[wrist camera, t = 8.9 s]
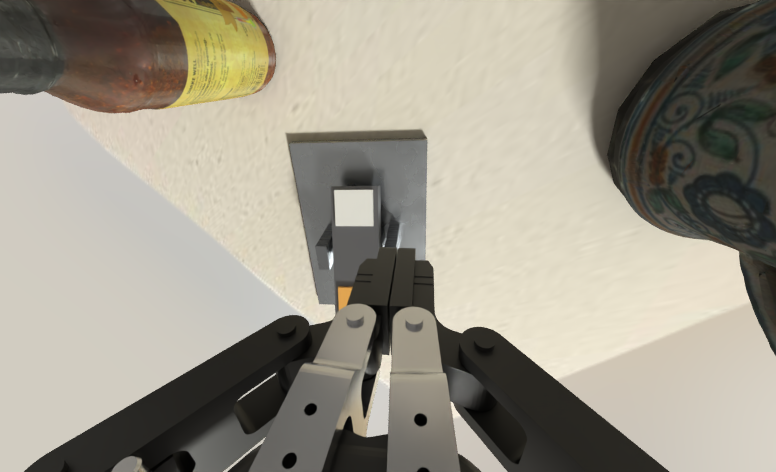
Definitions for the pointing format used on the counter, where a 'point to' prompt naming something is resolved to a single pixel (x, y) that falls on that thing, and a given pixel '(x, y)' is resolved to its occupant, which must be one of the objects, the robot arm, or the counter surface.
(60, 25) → the sauce bottle
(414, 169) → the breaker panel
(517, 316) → the counter surface
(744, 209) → the beer stein
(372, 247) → the lever
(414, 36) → the counter surface
